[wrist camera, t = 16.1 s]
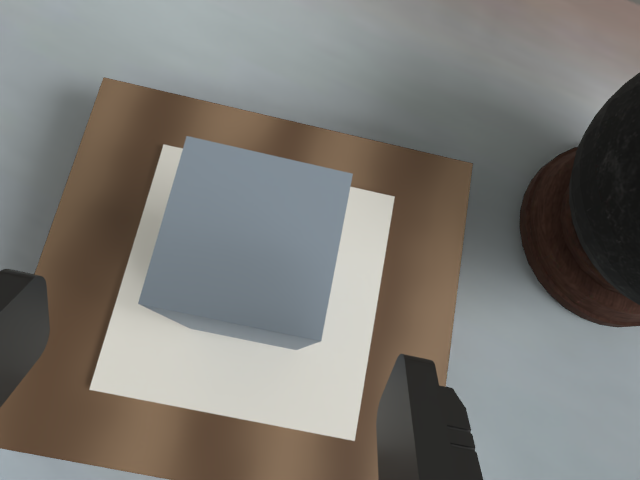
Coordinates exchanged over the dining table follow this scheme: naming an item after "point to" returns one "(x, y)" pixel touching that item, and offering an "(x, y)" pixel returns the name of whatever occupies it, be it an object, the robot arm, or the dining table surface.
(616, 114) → the black ball on pedestal
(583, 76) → the dining table surface
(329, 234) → the slate block
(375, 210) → the wooden board
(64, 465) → the dining table surface
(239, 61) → the dining table surface
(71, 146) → the dining table surface
